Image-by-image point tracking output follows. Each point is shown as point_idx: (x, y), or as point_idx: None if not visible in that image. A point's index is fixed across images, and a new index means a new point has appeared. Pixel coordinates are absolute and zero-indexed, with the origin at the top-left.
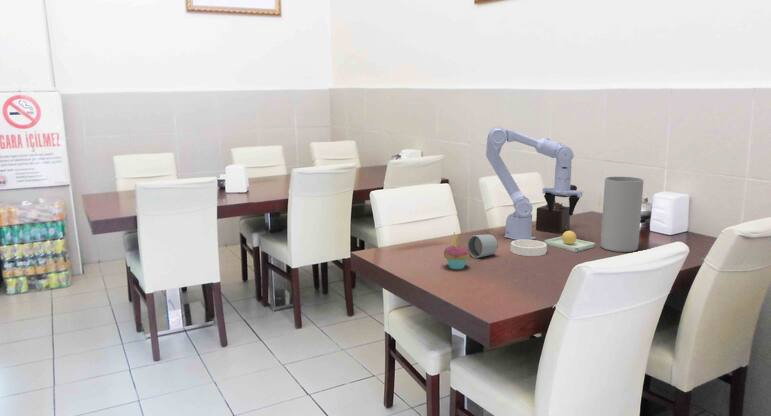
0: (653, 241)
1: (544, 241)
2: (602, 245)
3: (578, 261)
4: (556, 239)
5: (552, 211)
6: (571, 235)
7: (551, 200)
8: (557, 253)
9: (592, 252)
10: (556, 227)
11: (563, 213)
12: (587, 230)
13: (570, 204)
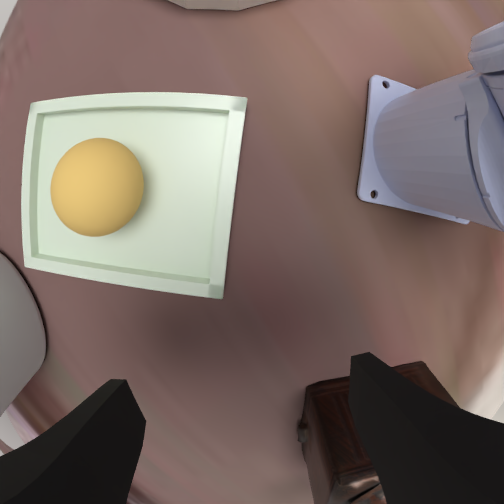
0: (34, 437)
1: (244, 99)
2: (3, 262)
3: (13, 18)
4: (217, 210)
5: (353, 399)
6: (58, 162)
7: (420, 492)
8: (101, 17)
9: (6, 165)
10: (330, 403)
11: (325, 488)
12: (241, 475)
13: (36, 459)
